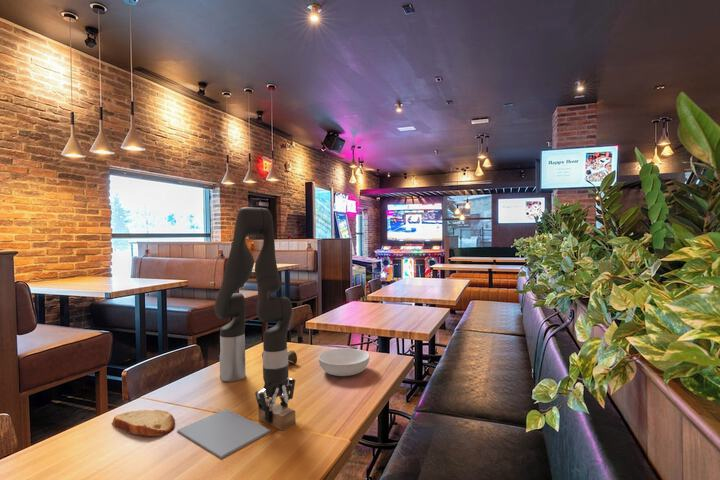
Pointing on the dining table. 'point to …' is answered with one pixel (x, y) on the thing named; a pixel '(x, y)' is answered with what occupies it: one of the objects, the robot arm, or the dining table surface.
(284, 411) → the brown rectangular block
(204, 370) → the dining table surface
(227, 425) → the slate mat
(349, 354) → the serving bowl
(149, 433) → the bread slice
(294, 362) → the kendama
